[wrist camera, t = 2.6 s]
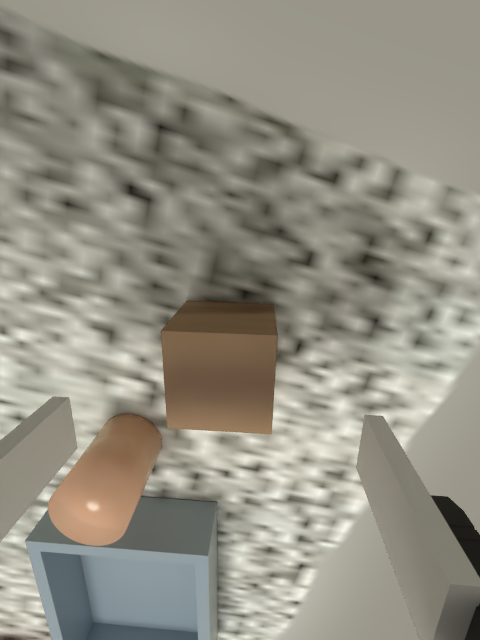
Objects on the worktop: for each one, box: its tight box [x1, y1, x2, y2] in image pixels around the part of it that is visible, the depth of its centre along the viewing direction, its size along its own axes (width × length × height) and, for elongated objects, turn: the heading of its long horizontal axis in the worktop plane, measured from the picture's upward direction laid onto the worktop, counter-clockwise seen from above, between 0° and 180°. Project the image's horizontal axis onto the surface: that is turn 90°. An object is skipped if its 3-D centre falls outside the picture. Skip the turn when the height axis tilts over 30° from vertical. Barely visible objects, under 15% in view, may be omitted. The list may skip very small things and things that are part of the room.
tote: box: [25, 497, 218, 640], centre depth 29 cm, size 18×14×5 cm
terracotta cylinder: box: [48, 414, 162, 546], centre depth 23 cm, size 5×5×7 cm
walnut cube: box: [161, 301, 277, 434], centre depth 20 cm, size 6×6×6 cm
